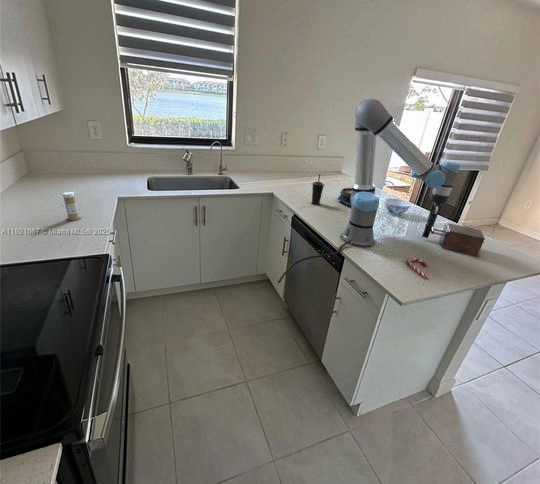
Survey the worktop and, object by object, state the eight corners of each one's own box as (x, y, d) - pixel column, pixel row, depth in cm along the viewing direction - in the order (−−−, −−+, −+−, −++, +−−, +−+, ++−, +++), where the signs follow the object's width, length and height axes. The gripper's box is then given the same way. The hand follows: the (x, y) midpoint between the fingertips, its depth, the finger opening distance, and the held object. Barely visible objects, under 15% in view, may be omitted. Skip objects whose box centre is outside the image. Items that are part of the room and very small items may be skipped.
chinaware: (411, 219, 179) (414, 207, 176) (387, 217, 179) (390, 205, 175) (401, 210, 192) (404, 199, 189) (379, 208, 192) (382, 197, 189)
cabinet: (443, 248, 144) (449, 230, 140) (441, 239, 154) (447, 223, 149) (477, 256, 139) (485, 238, 134) (473, 246, 148) (480, 229, 144)
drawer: (428, 242, 147) (432, 228, 143) (427, 235, 155) (432, 221, 152) (472, 252, 140) (478, 238, 136) (469, 244, 148) (474, 230, 145)
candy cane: (418, 275, 116) (405, 256, 130) (417, 277, 117) (404, 259, 131) (437, 277, 116) (422, 258, 130) (436, 279, 117) (421, 260, 130)
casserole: (333, 196, 210) (335, 185, 207) (358, 197, 211) (361, 186, 208) (342, 208, 188) (344, 195, 184) (370, 210, 189) (373, 197, 185)
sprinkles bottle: (78, 216, 146) (72, 190, 141) (80, 219, 143) (74, 193, 138) (67, 218, 144) (61, 192, 138) (69, 221, 141) (62, 194, 135)
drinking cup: (313, 201, 197) (317, 172, 188) (323, 204, 193) (328, 174, 184) (307, 203, 191) (311, 173, 183) (317, 206, 187) (322, 176, 179)
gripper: (450, 198, 134) (433, 243, 145) (448, 192, 145) (432, 234, 155) (432, 195, 137) (417, 239, 147) (431, 189, 148) (417, 230, 158)
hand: (425, 236), depth 151 cm, fingers closed
